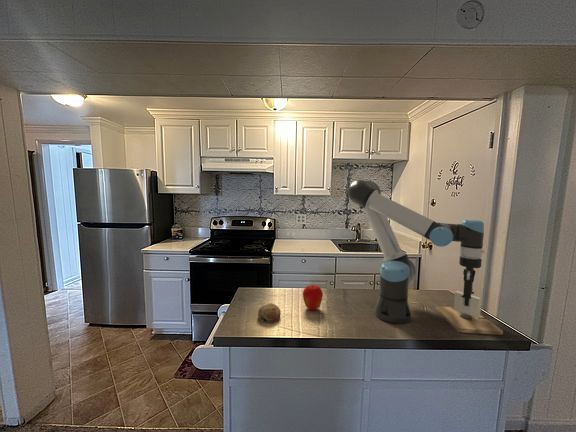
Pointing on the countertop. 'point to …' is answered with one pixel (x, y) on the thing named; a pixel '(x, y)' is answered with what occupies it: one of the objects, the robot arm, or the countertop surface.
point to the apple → (312, 297)
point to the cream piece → (473, 310)
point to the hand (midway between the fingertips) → (466, 310)
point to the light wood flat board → (468, 322)
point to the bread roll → (269, 313)
